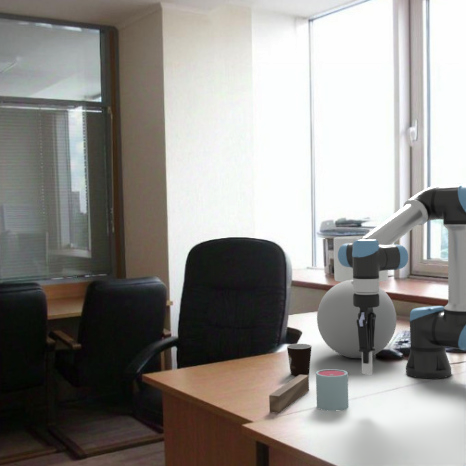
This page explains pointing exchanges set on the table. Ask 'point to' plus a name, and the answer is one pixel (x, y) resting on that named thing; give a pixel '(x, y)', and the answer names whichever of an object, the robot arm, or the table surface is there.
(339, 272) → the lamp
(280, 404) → the batten
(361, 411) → the table surface
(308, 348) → the coffee mug
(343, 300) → the sphere
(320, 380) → the mug
